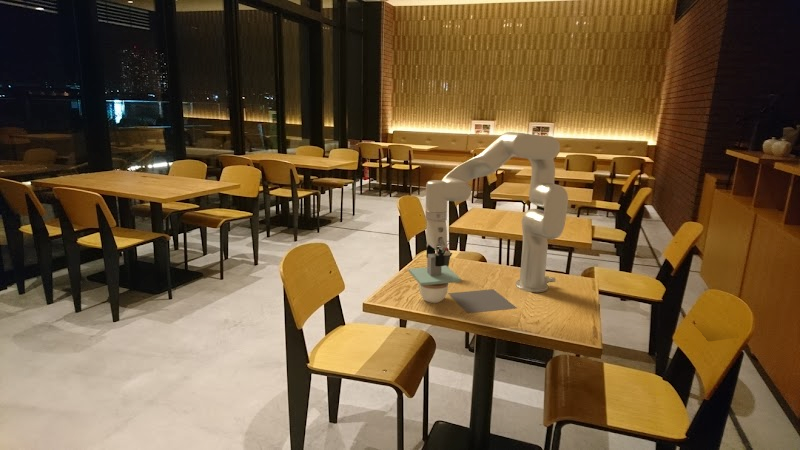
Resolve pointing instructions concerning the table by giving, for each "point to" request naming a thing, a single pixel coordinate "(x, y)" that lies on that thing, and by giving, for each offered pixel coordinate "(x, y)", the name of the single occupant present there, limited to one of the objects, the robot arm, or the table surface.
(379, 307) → the table surface
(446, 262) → the sundae
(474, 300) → the mat
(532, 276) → the robot arm
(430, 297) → the lidded jar
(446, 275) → the lid
